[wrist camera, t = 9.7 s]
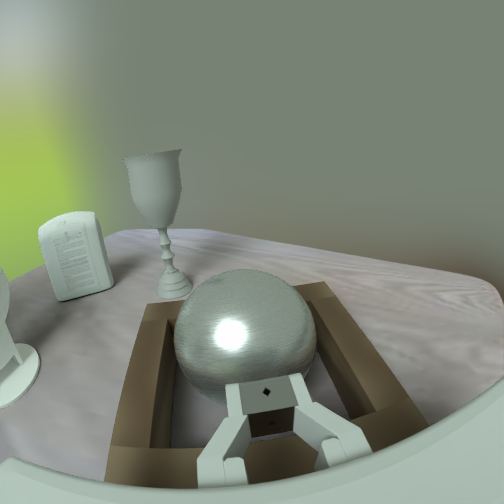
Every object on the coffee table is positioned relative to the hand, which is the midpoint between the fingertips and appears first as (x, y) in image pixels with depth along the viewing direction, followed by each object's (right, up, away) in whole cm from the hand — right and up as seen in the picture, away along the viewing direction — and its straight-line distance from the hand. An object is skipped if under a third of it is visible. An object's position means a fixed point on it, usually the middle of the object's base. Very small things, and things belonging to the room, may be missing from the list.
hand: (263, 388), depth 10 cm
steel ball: (-1, -1, +9) cm, 9 cm away
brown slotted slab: (+1, -8, +4) cm, 9 cm away
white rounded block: (-26, -1, +27) cm, 38 cm away
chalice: (-11, 0, +27) cm, 29 cm away
